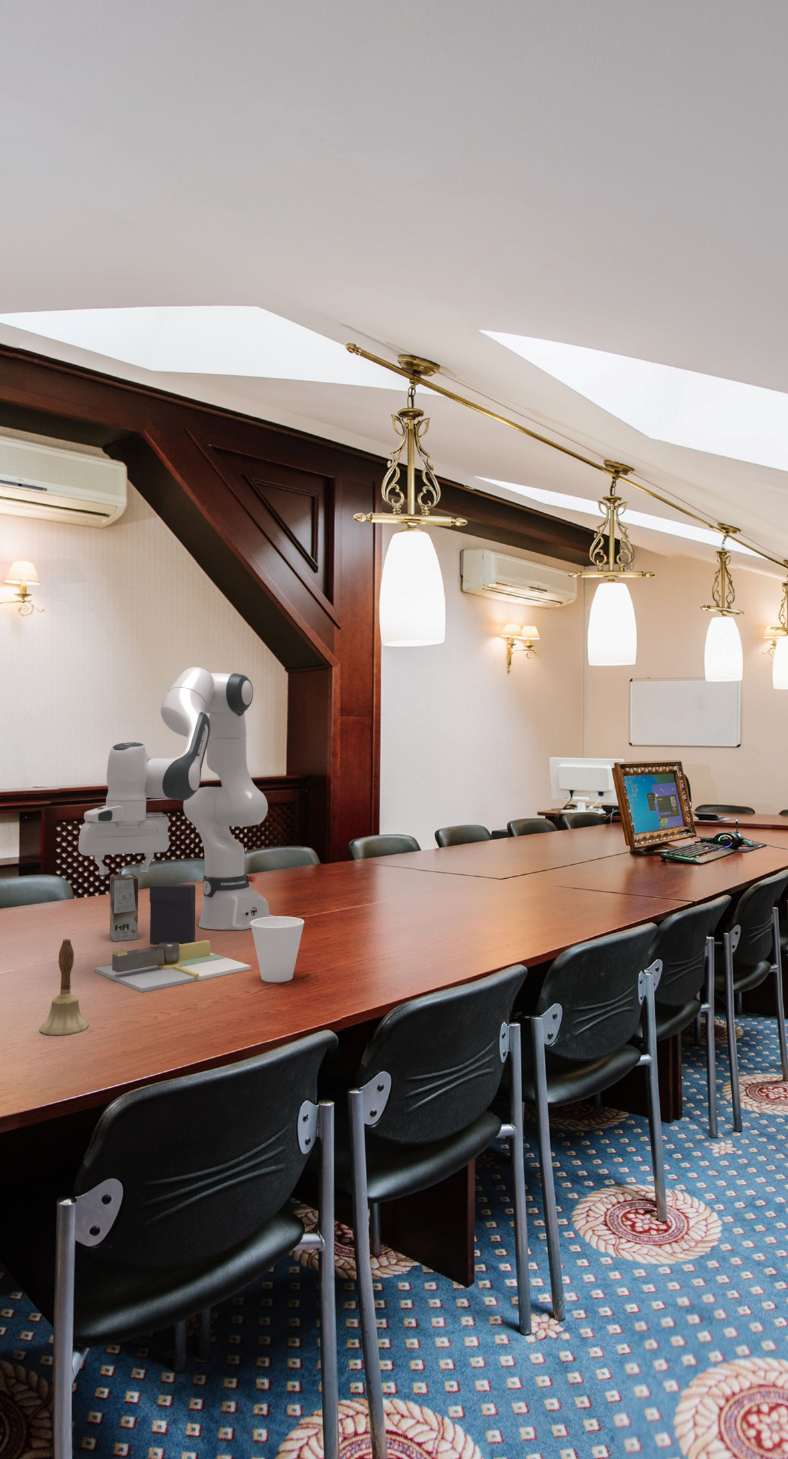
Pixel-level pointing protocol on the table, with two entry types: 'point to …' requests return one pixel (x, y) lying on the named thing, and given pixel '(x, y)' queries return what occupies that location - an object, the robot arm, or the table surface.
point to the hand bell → (65, 1000)
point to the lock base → (177, 969)
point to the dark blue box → (172, 913)
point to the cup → (277, 946)
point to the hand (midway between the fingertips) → (124, 873)
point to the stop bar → (145, 957)
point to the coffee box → (123, 907)
